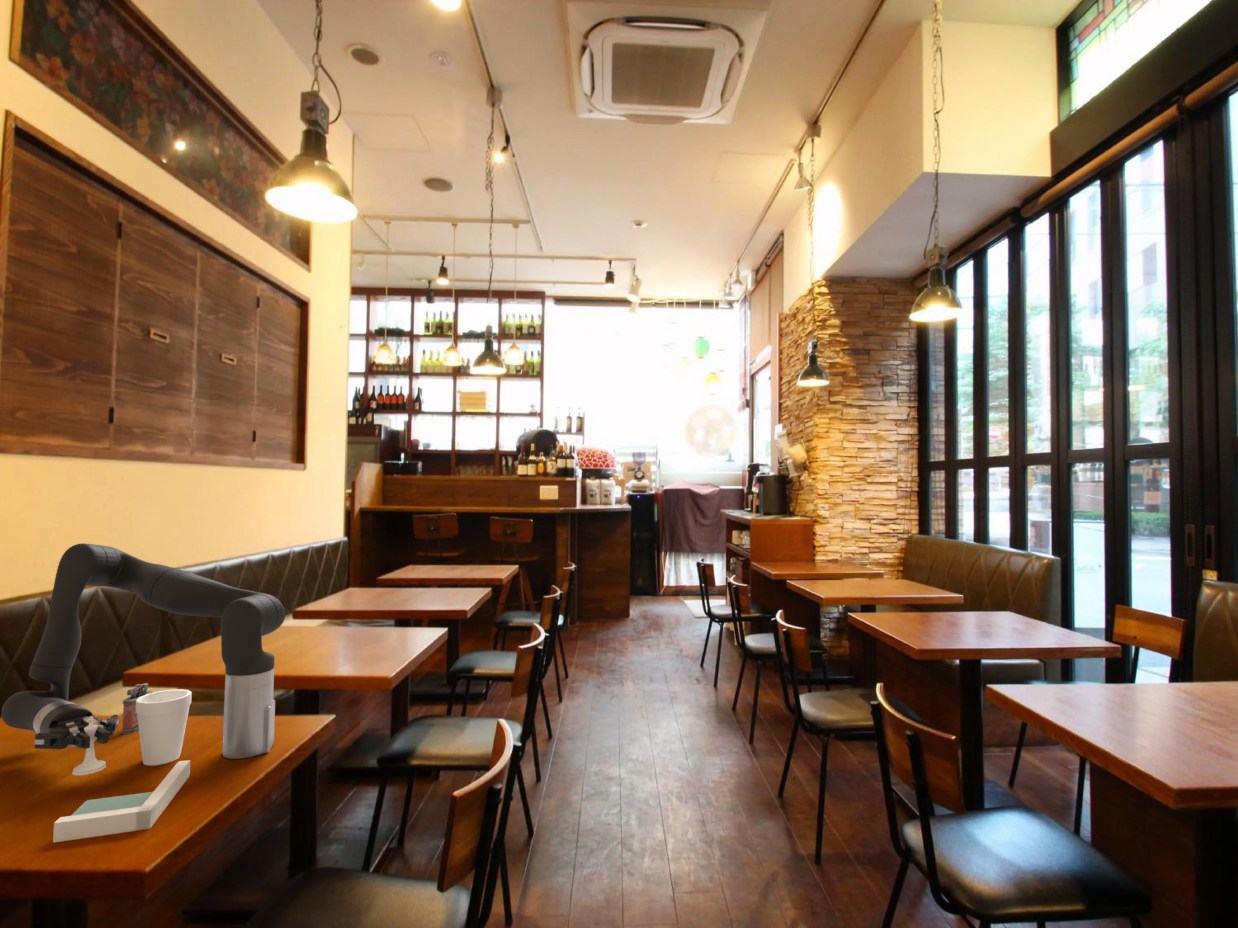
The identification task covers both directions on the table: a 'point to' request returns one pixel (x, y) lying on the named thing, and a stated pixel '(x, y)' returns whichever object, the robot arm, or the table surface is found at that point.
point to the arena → (121, 810)
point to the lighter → (132, 708)
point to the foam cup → (162, 724)
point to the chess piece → (90, 753)
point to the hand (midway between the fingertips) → (96, 740)
